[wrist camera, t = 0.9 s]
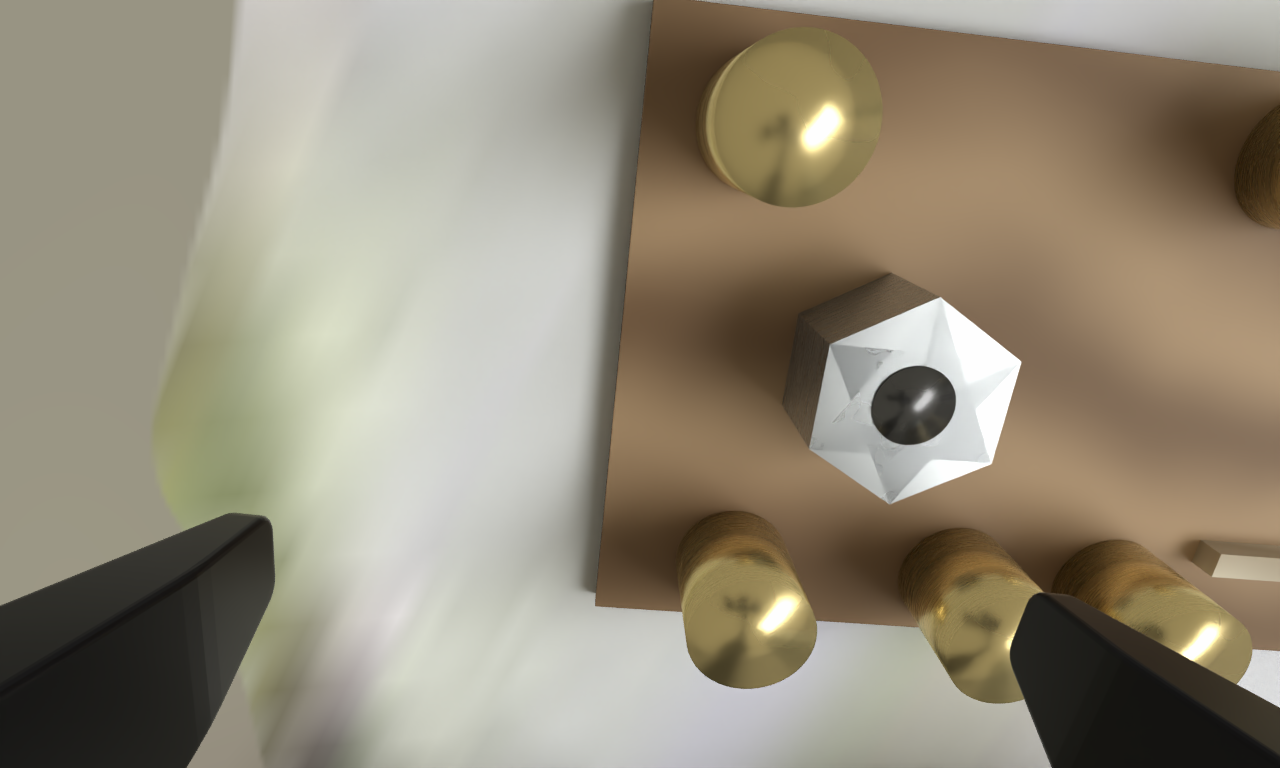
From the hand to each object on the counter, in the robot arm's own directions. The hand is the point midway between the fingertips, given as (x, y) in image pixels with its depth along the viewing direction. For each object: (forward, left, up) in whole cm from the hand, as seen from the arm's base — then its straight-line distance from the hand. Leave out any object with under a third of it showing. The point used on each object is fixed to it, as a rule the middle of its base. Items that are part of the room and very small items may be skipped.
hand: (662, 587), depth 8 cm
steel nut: (0, -7, -12) cm, 13 cm away
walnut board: (0, -12, -12) cm, 17 cm away
